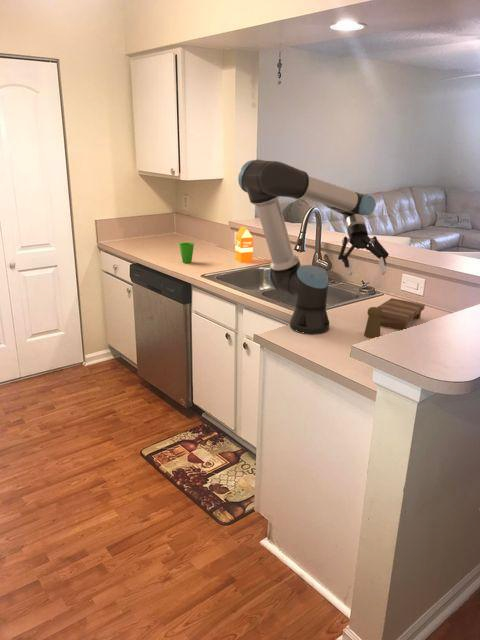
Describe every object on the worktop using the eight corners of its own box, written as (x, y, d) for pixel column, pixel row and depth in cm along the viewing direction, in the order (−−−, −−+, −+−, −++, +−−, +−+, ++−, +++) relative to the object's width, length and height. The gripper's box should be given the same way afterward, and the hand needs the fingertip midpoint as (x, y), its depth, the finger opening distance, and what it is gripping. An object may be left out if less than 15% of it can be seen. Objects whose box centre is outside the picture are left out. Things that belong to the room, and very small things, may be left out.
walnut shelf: (406, 331, 197) (408, 316, 195) (371, 323, 204) (373, 309, 202) (422, 318, 212) (424, 304, 210) (390, 311, 220) (391, 298, 218)
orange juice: (246, 258, 312) (247, 225, 306) (252, 261, 305) (253, 227, 298) (235, 259, 310) (235, 226, 303) (240, 262, 302) (241, 228, 295)
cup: (192, 264, 295) (192, 245, 292) (177, 263, 297) (176, 244, 293) (196, 261, 304) (196, 242, 300) (181, 260, 305) (181, 242, 302)
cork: (377, 332, 195) (381, 305, 191) (382, 338, 189) (385, 310, 186) (362, 332, 195) (364, 305, 191) (366, 338, 189) (369, 310, 185)
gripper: (382, 233, 214) (393, 277, 205) (324, 234, 210) (334, 279, 201) (389, 222, 207) (401, 267, 198) (329, 223, 203) (339, 269, 194)
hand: (367, 273), depth 199 cm, fingers open, 13 cm apart
